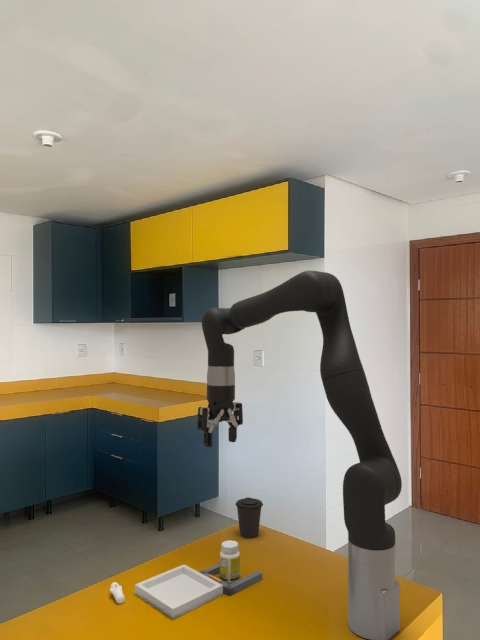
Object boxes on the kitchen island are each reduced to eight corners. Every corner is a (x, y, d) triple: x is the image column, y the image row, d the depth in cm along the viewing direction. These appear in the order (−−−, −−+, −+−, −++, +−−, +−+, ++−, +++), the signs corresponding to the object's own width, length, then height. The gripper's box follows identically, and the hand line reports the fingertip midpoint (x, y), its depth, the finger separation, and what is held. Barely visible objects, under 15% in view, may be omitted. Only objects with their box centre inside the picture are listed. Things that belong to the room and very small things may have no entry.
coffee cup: (250, 526, 152) (250, 493, 153) (268, 535, 146) (268, 500, 146) (229, 533, 147) (229, 499, 147) (247, 542, 141) (247, 507, 141)
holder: (262, 579, 121) (262, 571, 121) (229, 596, 113) (229, 587, 113) (230, 563, 128) (230, 556, 128) (197, 578, 121) (197, 570, 121)
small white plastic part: (106, 607, 108) (107, 592, 108) (110, 593, 114) (111, 579, 114) (123, 606, 109) (124, 592, 109) (127, 592, 115) (127, 578, 115)
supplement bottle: (240, 574, 123) (240, 540, 123) (238, 584, 118) (239, 548, 118) (221, 573, 123) (221, 539, 123) (218, 583, 119) (218, 547, 119)
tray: (222, 594, 114) (222, 585, 114) (172, 619, 104) (172, 609, 104) (184, 572, 124) (184, 564, 124) (135, 593, 114) (135, 584, 114)
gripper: (210, 386, 126) (209, 451, 126) (249, 382, 136) (249, 442, 136) (191, 383, 132) (190, 446, 131) (230, 380, 142) (230, 438, 141)
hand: (220, 444), depth 134 cm, fingers open, 8 cm apart
